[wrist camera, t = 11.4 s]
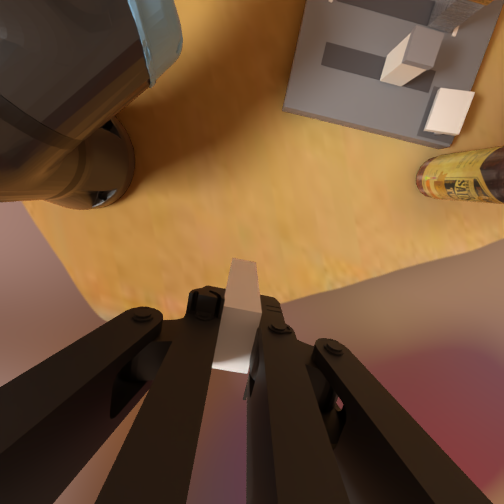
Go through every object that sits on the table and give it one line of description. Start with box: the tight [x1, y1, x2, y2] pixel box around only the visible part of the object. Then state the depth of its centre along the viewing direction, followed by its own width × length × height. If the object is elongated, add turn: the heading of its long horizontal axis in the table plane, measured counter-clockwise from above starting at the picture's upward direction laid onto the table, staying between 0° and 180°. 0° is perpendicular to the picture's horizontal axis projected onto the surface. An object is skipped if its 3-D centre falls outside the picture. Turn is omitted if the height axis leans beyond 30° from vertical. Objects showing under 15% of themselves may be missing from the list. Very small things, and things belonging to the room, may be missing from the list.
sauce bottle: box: [416, 146, 504, 204], centre depth 29 cm, size 6×6×20 cm
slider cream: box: [380, 25, 445, 86], centre depth 30 cm, size 3×3×6 cm
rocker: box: [424, 88, 475, 136], centre depth 33 cm, size 4×5×2 cm
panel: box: [282, 0, 504, 149], centre depth 33 cm, size 24×18×2 cm
